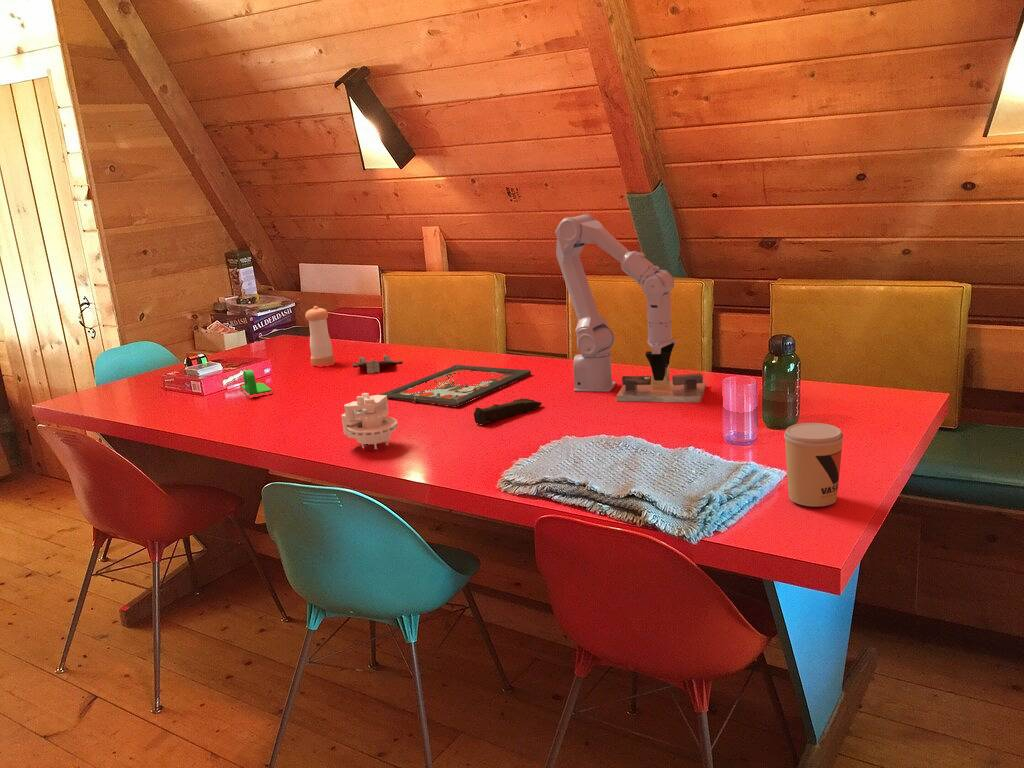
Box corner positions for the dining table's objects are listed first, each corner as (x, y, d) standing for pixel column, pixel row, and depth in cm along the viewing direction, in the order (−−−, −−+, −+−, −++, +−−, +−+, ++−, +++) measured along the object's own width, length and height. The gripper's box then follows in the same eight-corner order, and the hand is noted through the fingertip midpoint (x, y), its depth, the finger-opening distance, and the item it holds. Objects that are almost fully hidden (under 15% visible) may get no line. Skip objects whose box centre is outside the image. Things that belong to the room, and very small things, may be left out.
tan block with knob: (652, 389, 217) (651, 363, 215) (655, 385, 221) (654, 359, 219) (667, 390, 216) (666, 363, 214) (669, 385, 220) (668, 359, 218)
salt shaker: (313, 365, 280) (305, 305, 275) (336, 363, 281) (328, 303, 276) (310, 370, 273) (302, 309, 268) (334, 368, 274) (326, 307, 269)
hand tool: (483, 410, 202) (470, 406, 205) (484, 427, 203) (471, 423, 207) (543, 392, 214) (530, 389, 217) (543, 408, 215) (530, 404, 218)
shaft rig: (616, 401, 215) (615, 383, 214) (626, 386, 228) (625, 369, 227) (700, 402, 209) (699, 383, 208) (705, 386, 222) (705, 369, 221)
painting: (534, 377, 247) (534, 368, 246) (460, 412, 219) (459, 402, 218) (454, 370, 262) (453, 362, 261) (375, 402, 234) (374, 393, 233)
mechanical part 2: (372, 458, 188) (365, 404, 185) (336, 449, 196) (329, 397, 193) (411, 443, 196) (405, 391, 193) (375, 435, 204) (369, 385, 201)
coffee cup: (828, 513, 144) (829, 443, 141) (774, 501, 150) (774, 434, 147) (850, 494, 151) (852, 427, 148) (798, 483, 157) (798, 419, 154)
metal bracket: (397, 353, 260) (346, 357, 260) (398, 373, 260) (347, 377, 260) (402, 356, 274) (354, 360, 274) (404, 375, 274) (355, 378, 274)
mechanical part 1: (272, 396, 246) (268, 368, 244) (251, 400, 244) (246, 372, 242) (262, 388, 257) (258, 361, 255) (241, 392, 254) (237, 365, 252)
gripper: (672, 327, 206) (674, 384, 210) (679, 315, 220) (681, 368, 223) (642, 328, 208) (644, 383, 212) (651, 316, 222) (653, 368, 225)
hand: (661, 376), depth 217 cm, fingers open, 7 cm apart
